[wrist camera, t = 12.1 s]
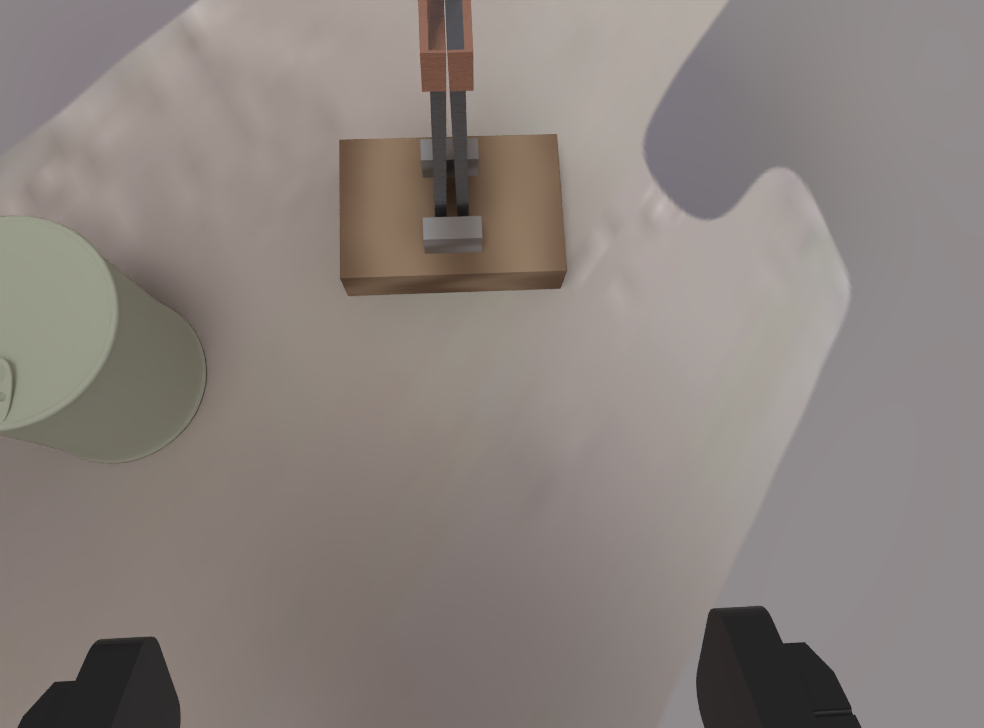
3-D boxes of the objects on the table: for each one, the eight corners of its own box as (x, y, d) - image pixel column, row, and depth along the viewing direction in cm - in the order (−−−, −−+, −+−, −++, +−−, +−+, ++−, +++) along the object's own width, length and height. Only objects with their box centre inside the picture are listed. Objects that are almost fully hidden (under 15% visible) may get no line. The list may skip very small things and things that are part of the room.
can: (31, 470, 42) (-135, 440, 30) (37, 304, 44) (-116, 216, 32) (208, 455, 43) (111, 420, 31) (206, 291, 45) (115, 200, 33)
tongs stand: (348, 295, 45) (334, 265, 40) (347, 165, 47) (333, 120, 42) (560, 288, 45) (571, 257, 41) (551, 159, 47) (561, 115, 42)
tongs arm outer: (457, 223, 42) (447, 52, 28) (456, 177, 43) (444, -15, 28) (474, 223, 42) (473, 51, 28) (472, 176, 43) (470, -16, 28)
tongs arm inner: (429, 224, 42) (420, 53, 28) (428, 177, 43) (417, -15, 28) (446, 224, 42) (445, 52, 28) (444, 177, 43) (443, -15, 28)
